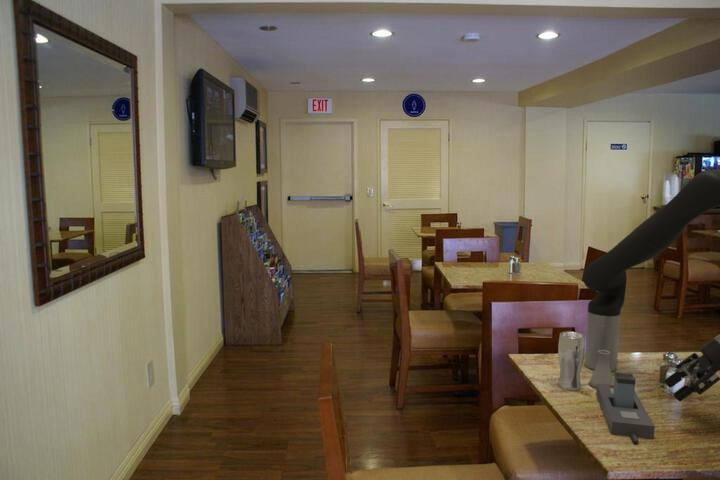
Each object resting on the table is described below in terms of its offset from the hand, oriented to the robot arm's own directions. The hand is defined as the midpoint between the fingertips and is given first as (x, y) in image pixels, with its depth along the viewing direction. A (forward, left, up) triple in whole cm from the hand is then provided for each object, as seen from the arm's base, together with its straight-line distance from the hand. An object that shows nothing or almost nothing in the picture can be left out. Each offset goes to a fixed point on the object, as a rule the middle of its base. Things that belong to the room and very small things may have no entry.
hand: (671, 391), depth 140 cm
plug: (0, -11, -7) cm, 13 cm away
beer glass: (-16, -22, -7) cm, 28 cm away
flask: (-19, -13, -8) cm, 24 cm away
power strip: (+2, -11, -7) cm, 13 cm away
